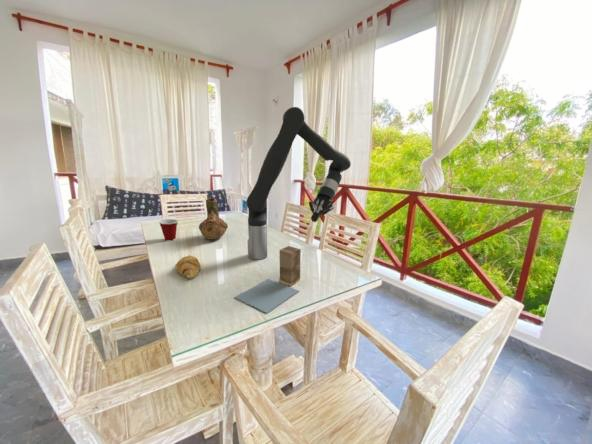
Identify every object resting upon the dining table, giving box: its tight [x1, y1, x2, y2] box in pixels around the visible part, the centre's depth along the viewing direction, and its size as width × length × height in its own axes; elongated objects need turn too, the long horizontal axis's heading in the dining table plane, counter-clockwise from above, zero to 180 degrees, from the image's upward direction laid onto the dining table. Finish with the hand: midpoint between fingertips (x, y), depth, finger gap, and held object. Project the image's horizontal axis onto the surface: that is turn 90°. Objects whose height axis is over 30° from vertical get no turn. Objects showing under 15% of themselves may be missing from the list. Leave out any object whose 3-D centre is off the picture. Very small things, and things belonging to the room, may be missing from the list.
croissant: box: [174, 254, 201, 280], centre depth 114 cm, size 21×10×8 cm, turn 29°
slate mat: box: [234, 278, 300, 314], centre depth 95 cm, size 18×16×1 cm
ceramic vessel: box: [198, 197, 228, 240], centre depth 157 cm, size 17×26×25 cm, turn 16°
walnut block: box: [279, 245, 301, 287], centre depth 104 cm, size 6×6×14 cm
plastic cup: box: [158, 218, 179, 241], centre depth 157 cm, size 11×11×12 cm
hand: (313, 220), depth 113 cm, fingers closed
